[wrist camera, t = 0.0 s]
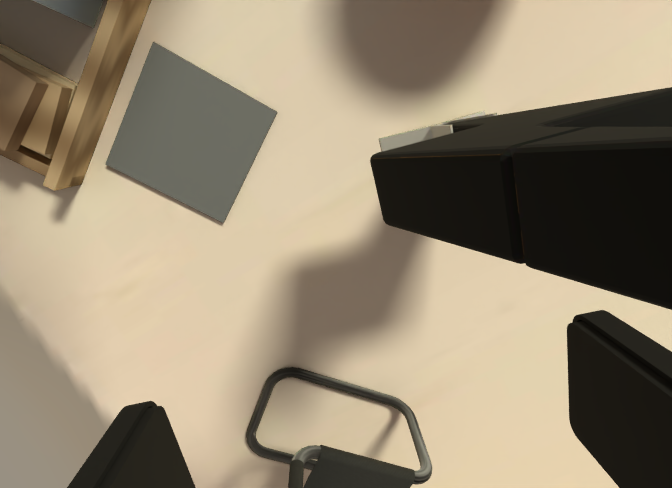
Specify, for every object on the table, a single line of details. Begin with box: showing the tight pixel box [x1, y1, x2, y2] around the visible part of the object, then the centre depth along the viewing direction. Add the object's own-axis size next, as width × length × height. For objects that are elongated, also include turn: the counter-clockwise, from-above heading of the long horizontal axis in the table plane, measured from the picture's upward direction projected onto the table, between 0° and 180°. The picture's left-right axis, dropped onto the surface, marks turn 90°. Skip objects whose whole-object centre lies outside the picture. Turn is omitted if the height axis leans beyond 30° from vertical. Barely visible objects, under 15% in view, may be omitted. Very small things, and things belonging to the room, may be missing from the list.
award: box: [370, 87, 672, 310], centre depth 24 cm, size 15×5×30 cm, turn 104°
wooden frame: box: [0, 0, 151, 191], centre depth 32 cm, size 21×17×4 cm
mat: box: [105, 42, 277, 223], centre depth 36 cm, size 12×12×1 cm
